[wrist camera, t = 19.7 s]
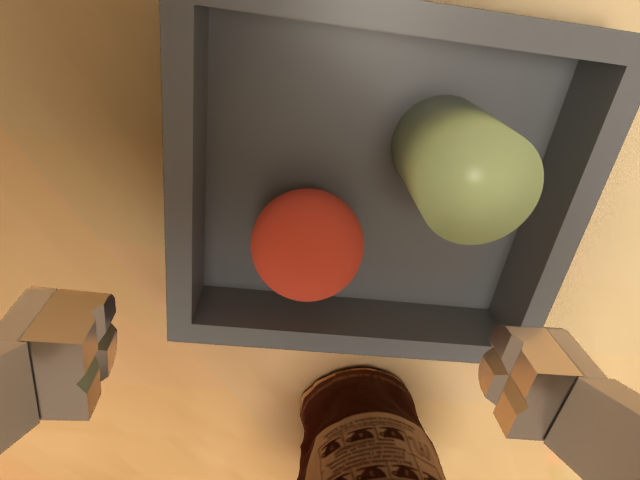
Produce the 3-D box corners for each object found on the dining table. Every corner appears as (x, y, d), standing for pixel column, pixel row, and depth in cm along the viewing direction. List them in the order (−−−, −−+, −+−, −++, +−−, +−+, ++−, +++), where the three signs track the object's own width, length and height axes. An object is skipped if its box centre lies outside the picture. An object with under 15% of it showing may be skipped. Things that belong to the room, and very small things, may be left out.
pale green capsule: (403, 88, 19) (436, 119, 14) (501, 102, 19) (563, 136, 15) (382, 184, 20) (406, 238, 16) (472, 194, 21) (519, 250, 16)
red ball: (259, 165, 20) (248, 212, 16) (366, 178, 20) (381, 225, 16) (252, 258, 22) (241, 320, 18) (349, 268, 22) (359, 330, 18)
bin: (184, 293, 23) (167, 341, 20) (184, -34, 17) (158, -39, 14) (497, 319, 25) (525, 366, 22) (606, 28, 18) (669, 37, 15)
